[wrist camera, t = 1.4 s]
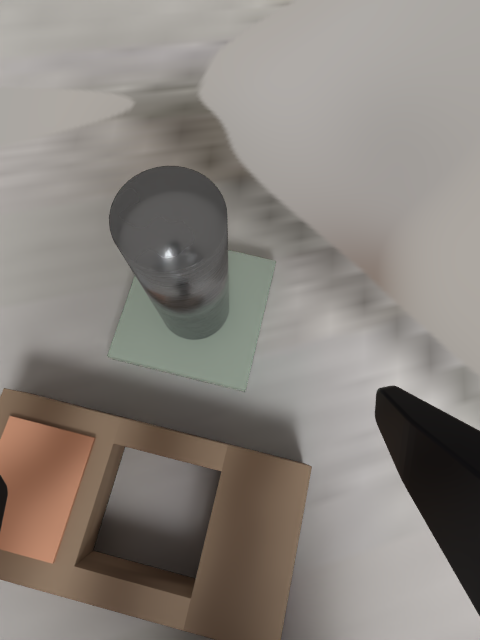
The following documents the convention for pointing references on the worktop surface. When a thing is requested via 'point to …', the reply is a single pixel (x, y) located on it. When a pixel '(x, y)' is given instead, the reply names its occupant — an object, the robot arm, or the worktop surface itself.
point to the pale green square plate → (205, 354)
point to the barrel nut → (176, 246)
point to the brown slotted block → (91, 501)
